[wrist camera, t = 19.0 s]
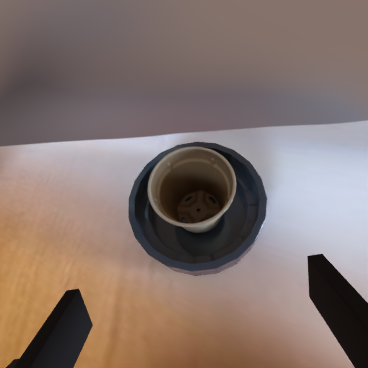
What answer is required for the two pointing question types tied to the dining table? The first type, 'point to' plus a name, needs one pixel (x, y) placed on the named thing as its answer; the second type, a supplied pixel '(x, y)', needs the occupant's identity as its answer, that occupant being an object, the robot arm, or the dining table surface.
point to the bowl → (208, 241)
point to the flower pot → (192, 188)
